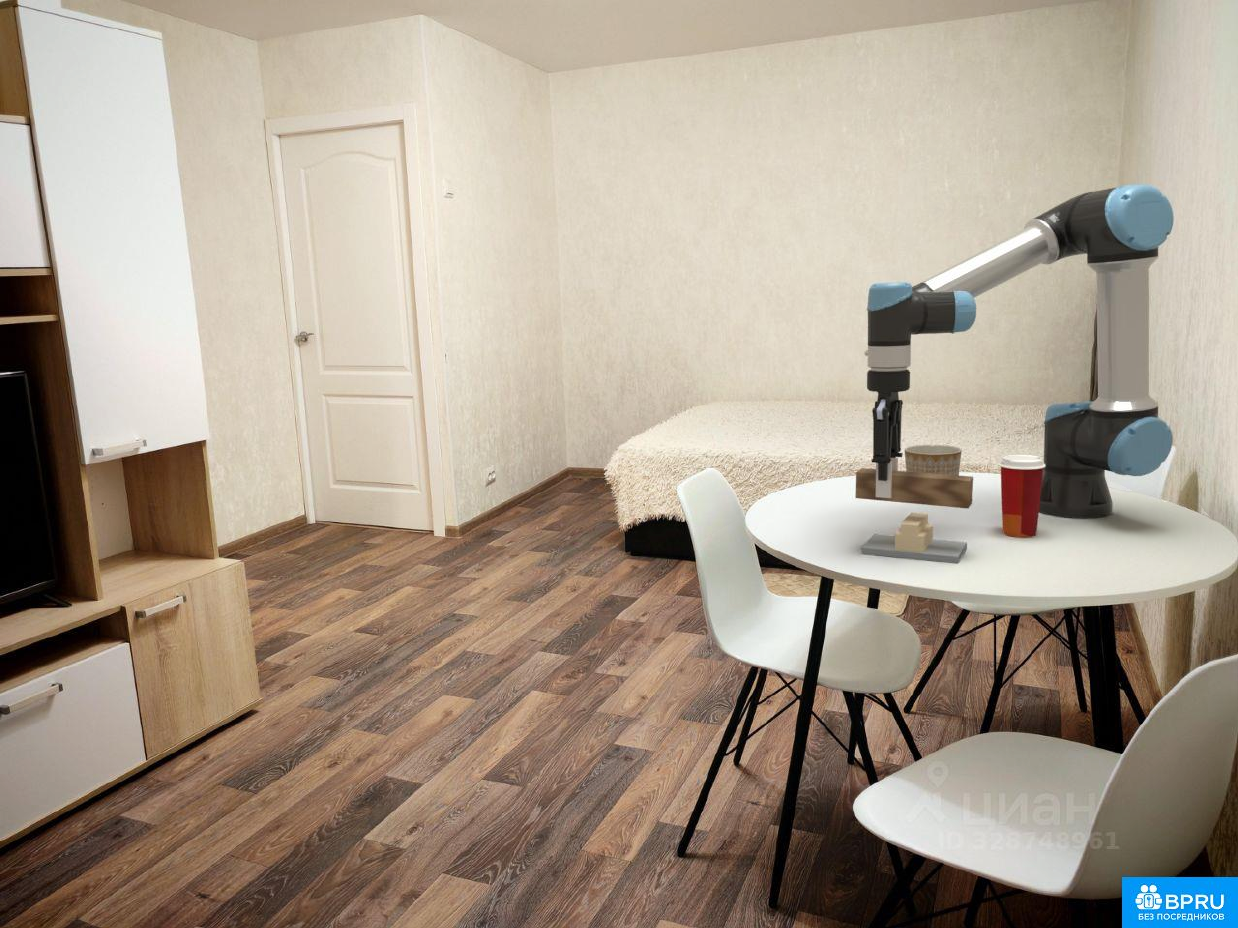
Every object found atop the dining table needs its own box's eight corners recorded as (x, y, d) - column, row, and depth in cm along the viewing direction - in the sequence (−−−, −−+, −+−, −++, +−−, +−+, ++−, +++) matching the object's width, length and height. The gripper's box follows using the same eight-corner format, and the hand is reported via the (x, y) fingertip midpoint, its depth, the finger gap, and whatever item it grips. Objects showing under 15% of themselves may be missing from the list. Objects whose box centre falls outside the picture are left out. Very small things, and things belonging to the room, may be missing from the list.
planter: (921, 484, 222) (921, 443, 220) (970, 491, 212) (971, 447, 211) (893, 494, 213) (894, 450, 211) (943, 501, 204) (944, 456, 202)
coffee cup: (1040, 528, 178) (1043, 454, 175) (1044, 540, 171) (1048, 462, 168) (994, 527, 181) (996, 453, 178) (997, 538, 173) (999, 461, 171)
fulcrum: (966, 548, 167) (967, 516, 166) (957, 563, 159) (958, 529, 158) (874, 539, 176) (874, 509, 175) (861, 553, 167) (861, 521, 166)
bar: (971, 503, 163) (973, 476, 162) (968, 508, 159) (969, 481, 158) (860, 493, 172) (861, 468, 171) (855, 498, 169) (856, 472, 168)
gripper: (879, 364, 173) (877, 484, 177) (855, 373, 158) (854, 502, 162) (919, 364, 169) (916, 486, 173) (899, 373, 154) (896, 506, 159)
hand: (886, 494), depth 168 cm, fingers closed on bar, 4 cm apart
